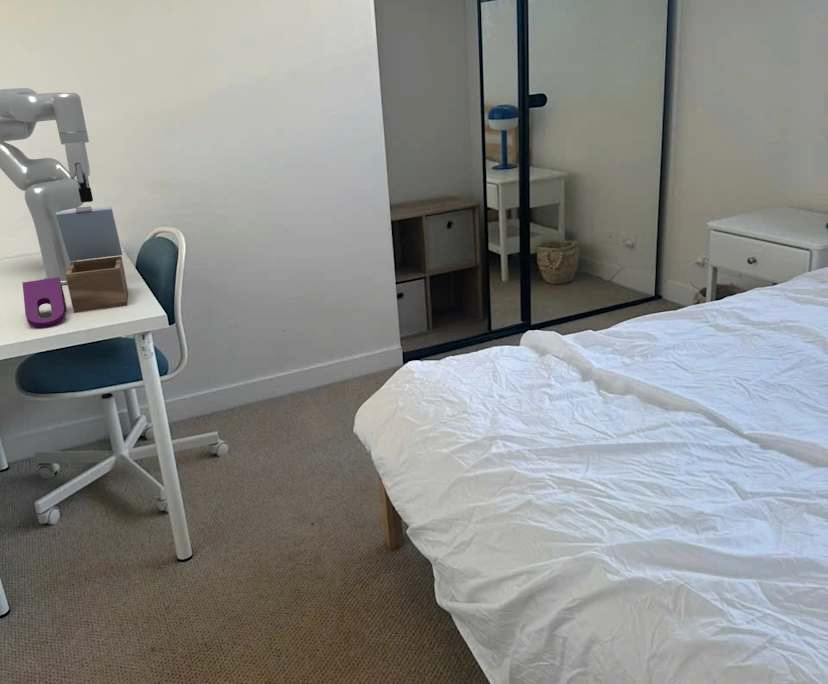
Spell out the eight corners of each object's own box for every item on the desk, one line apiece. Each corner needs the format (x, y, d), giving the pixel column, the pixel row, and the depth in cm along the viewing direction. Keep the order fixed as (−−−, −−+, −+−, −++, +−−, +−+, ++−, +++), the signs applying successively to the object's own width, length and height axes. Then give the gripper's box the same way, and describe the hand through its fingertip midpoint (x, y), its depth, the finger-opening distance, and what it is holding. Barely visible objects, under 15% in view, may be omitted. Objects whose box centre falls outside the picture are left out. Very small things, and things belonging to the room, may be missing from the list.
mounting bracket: (71, 342, 202) (65, 299, 213) (65, 319, 196) (59, 277, 208) (33, 348, 199) (29, 305, 210) (26, 325, 193) (22, 282, 204)
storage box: (78, 297, 221) (71, 262, 217) (128, 291, 225) (121, 256, 221) (73, 312, 207) (65, 274, 203) (126, 305, 211) (119, 268, 207)
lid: (69, 262, 217) (69, 258, 218) (122, 256, 221) (122, 252, 222) (55, 213, 205) (55, 209, 206) (111, 208, 209) (110, 204, 210)
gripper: (62, 137, 219) (75, 199, 226) (57, 140, 206) (71, 206, 212) (89, 135, 221) (102, 196, 228) (86, 138, 208) (99, 204, 214)
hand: (87, 201), depth 220 cm, fingers closed
